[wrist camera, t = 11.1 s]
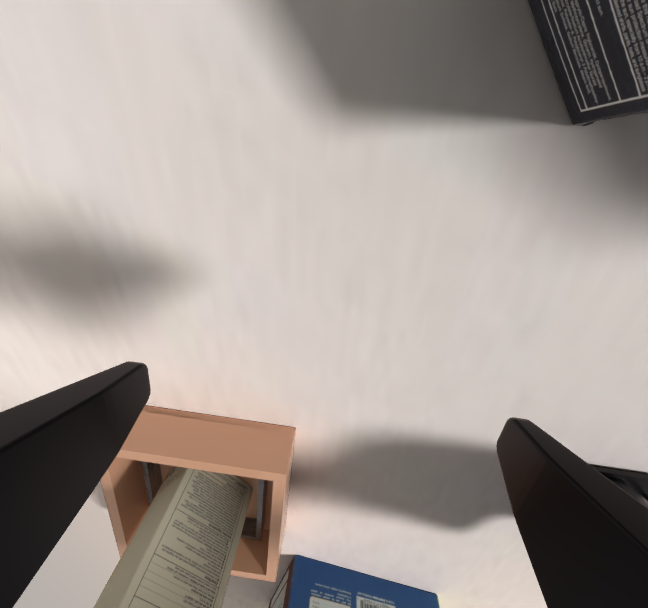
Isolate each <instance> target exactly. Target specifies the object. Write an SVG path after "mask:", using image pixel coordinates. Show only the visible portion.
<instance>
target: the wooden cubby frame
mask: <svg viewBox="0 0 648 608" xmlns="http://www.w3.org/2000/svg"><path fill="white" fill-rule="evenodd" d="M295 431H296V428H294V427H287V426H280V425H273V424H267V423H260V422H253V421H246V420H240V419H233V418H226V417H219V416H213V415H206V414H199V413H192V412H186V411H179V410H172V409H165V408H159V407H152V406H144V408H143V410H142V412H141V413H140V415H139V417H138V419H137V421H136V422H135V424H134V426H133V428H132V430H131V432H130V433H129V435H128V437H127V439H126V441H125V442H124V444H123V446H122V448H121V449H120V451H119V453H118V454H117V456H116V458H115V459H114V461H113V462H112V464H111V465H110V467H109V468H108V470H107V471H106V473H105V474H104V475H103V477H102V478H101V480H100V481H101V485H102V489H103V493H104V497H105V500H106V504H107V508H108V512H109V516H110V520H111V523H112V527H113V531H114V535H115V539H116V542H117V547H118V550H119V554H120V558H121V557H122V555H123V553H124V551H125V550H126V548H127V546H128V544H129V542H130V540H131V539H132V537H133V535H134V533H135V532H136V530H137V528H138V526H139V524H140V523H141V521H142V519H143V517H144V515H145V514H146V512H147V510H148V508H149V502H148V497H147V491H146V485H145V479H144V474H143V468H142V462H141V461H144V462H151V463H158V464H160V468H161V475H162V483H163V481H164V479H165V477H166V476H167V474H168V473H169V472H170V471H171V470H172V469H173V468H174V467H175V466H177V467H184V468H191V469H197V470H204V471H210V472H217V473H223V474H230V475H236V476H237V477H239V478H240V479H241V480H243V481H244V482H246V483H247V484H248V485H250V486H251V487H252V488H253V492H252V495H251V499H250V503H249V507H248V510H247V514H246V517H249V518H255V519H257V506H258V485H259V479H263V480H268V481H267V496H266V512H265V524H264V528H263V532H262V537H261V541H258V540H251V539H245V538H240V540H239V544H238V548H237V551H236V555H235V559H234V563H233V566H232V570H231V574H230V575H232V576H239V577H245V578H251V579H257V580H264V581H270V582H276V577H277V571H278V566H279V560H280V554H281V549H282V543H283V538H284V532H285V523H286V514H287V505H288V496H289V486H290V477H291V468H292V459H293V449H294V440H295Z"/></svg>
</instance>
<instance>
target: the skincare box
mask: <svg viewBox="0 0 648 608" xmlns="http://www.w3.org/2000/svg"><path fill="white" fill-rule="evenodd" d="M252 492H253V488H252V487H251V486H250V485H248V484H247V483H246V482H244V481H243V480H241V479H240V478H239V477H237V476H236V475H230V474H223V473H217V472H210V471H204V470H197V469H191V468H184V467H177V466H175V467H174V468H173V469H172V470H171V471H170V472H169V473H168V474H167V476H166V477H165V479H164V481H163V483H162V485H161V487H160V488H159V490H158V492H157V494H156V495H155V497H154V499H153V501H152V503H151V504H150V506H149V508H148V510H147V512H146V514H145V515H144V517H143V519H142V521H141V523H140V524H139V526H138V528H137V530H136V532H135V533H134V535H133V537H132V539H131V540H130V542H129V544H128V546H127V548H126V550H125V551H124V553H123V555H122V557H121V559H120V561H119V562H118V565H117V566H116V568H115V570H114V572H113V573H112V575H111V577H110V579H109V580H108V582H107V584H106V586H105V588H104V590H103V591H102V593H101V595H100V597H99V599H98V601H97V603H96V604H95V606H94V608H221V607H222V604H223V600H224V596H225V592H226V589H227V585H228V581H229V577H230V574H231V570H232V566H233V563H234V559H235V555H236V551H237V548H238V544H239V540H240V537H241V533H242V529H243V525H244V521H245V518H246V514H247V510H248V507H249V503H250V499H251V495H252Z"/></svg>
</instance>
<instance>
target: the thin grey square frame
mask: <svg viewBox="0 0 648 608" xmlns="http://www.w3.org/2000/svg"><path fill="white" fill-rule="evenodd" d="M141 462H142V468H143V474H144V479H145V485H146V491H147V497H148V502H149V506H150V504H151V503H152V501H153V499H154V497H155V495H156V494H157V492H158V490H159V488H160V487H161V485H162V475H161V468H160V464H158V463H151V462H144V461H141ZM267 481H268V480H263V479H259V485H258V506H257V519H255V518H249V517H246V518H245V521H244V525H243V529H242V533H241V537H240V538H245V539H251V540H258V541H261V537H262V532H263V528H264V524H265V512H266V496H267Z"/></svg>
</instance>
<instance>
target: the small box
mask: <svg viewBox="0 0 648 608" xmlns="http://www.w3.org/2000/svg"><path fill="white" fill-rule="evenodd" d="M528 1H529V3H530V6H531V9H532V12H533V14H534V17H535V20H536V23H537V26H538V29H539V31H540V34H541V37H542V40H543V43H544V46H545V48H546V51H547V54H548V57H549V59H550V62H551V65H552V68H553V70H554V73H555V76H556V79H557V82H558V84H559V87H560V90H561V92H562V95H563V98H564V100H565V103H566V106H567V109H568V111H569V114H570V117H571V120H572V123H573V124H574V125H582V126H586V125H589V124H592V123H594V122H595V121H599V120H605V119H611V118H616V117H622V116H627V115H631V114H640V113H646V112H648V0H528Z"/></svg>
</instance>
